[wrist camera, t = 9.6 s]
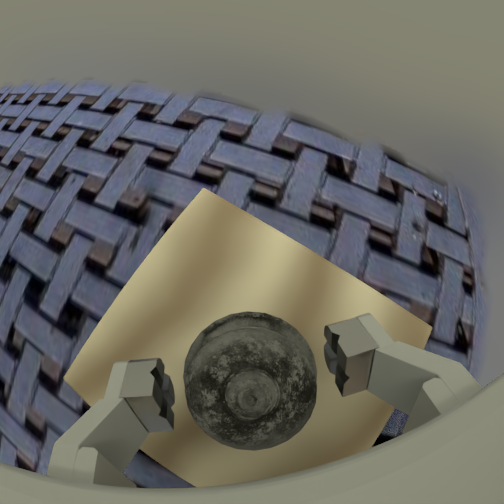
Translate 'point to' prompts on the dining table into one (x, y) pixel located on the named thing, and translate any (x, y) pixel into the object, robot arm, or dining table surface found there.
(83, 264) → the dining table surface
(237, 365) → the weathered chess pawn
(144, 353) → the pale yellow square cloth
